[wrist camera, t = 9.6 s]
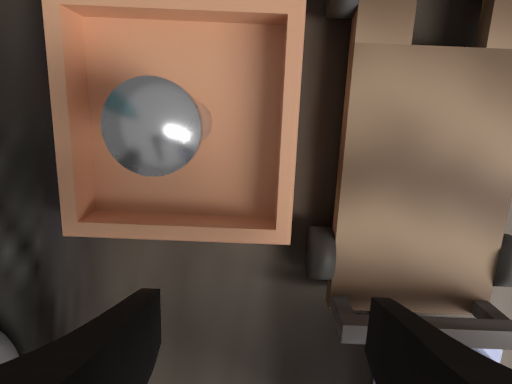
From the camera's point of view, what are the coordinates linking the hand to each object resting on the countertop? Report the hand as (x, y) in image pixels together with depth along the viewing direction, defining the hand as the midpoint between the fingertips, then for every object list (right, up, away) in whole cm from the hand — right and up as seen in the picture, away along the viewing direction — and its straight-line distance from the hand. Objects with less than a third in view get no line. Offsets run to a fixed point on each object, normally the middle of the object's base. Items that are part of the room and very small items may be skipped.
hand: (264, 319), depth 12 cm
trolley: (+9, +8, +8) cm, 14 cm away
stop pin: (-4, +8, +7) cm, 12 cm away
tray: (-4, +8, +8) cm, 12 cm away
